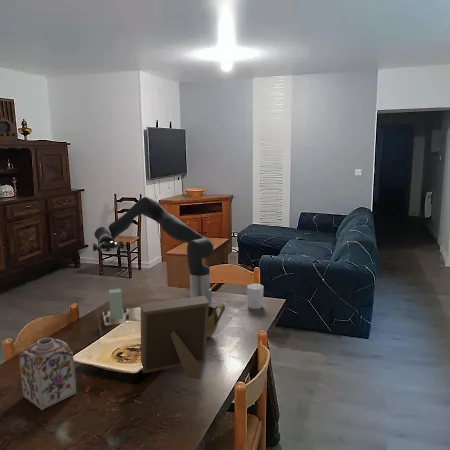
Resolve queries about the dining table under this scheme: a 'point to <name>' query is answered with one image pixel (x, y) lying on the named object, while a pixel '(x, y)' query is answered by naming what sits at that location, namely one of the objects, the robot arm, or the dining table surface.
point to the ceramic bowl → (213, 318)
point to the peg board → (128, 315)
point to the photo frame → (174, 335)
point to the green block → (115, 304)
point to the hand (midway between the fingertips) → (109, 249)
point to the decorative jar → (47, 372)
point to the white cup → (255, 296)
